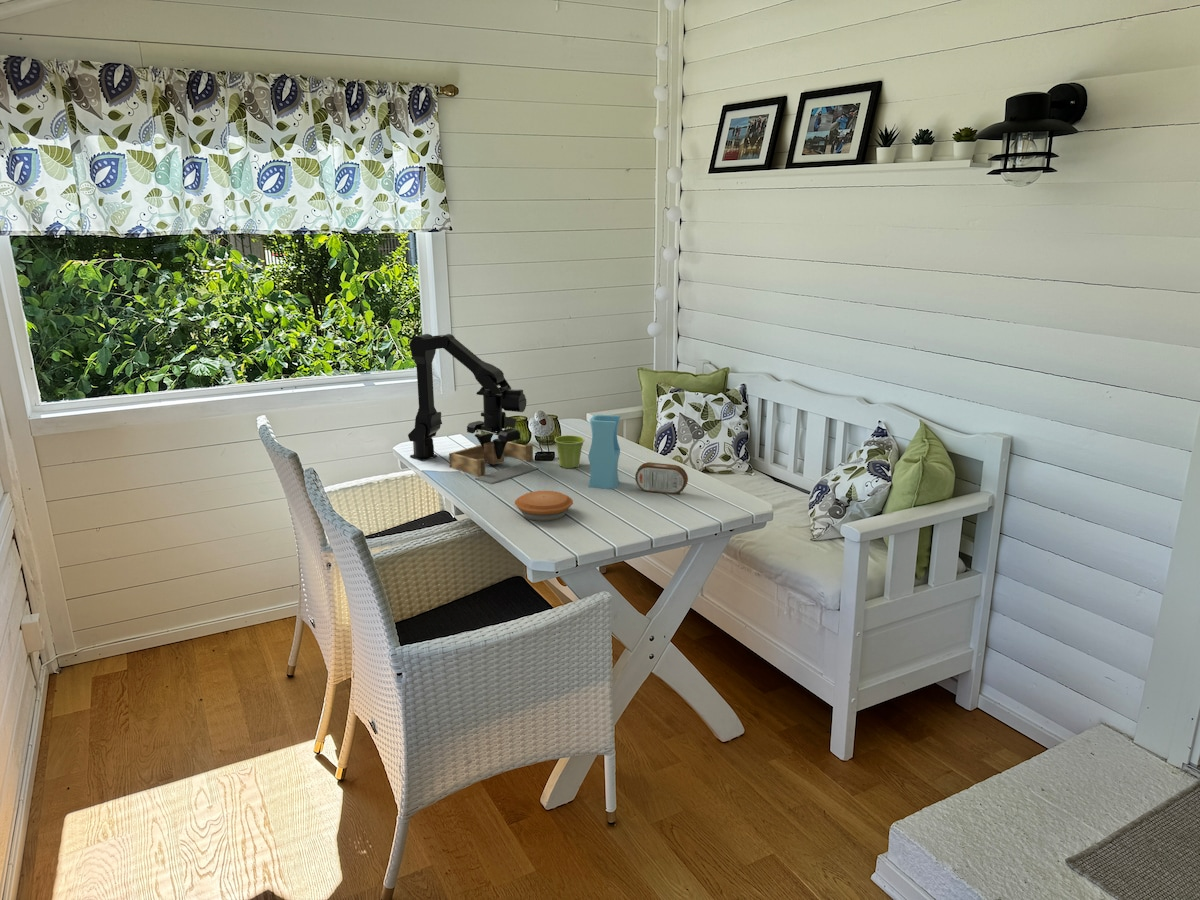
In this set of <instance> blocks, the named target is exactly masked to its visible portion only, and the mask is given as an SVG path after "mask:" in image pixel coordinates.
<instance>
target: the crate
mask: <svg viewBox="0 0 1200 900" xmlns="http://www.w3.org/2000/svg"><path fill="white" fill-rule="evenodd" d="M533 446H534V445H533V444H527V445H526V444H525V445H524V444H520V443H516V442H513V441H510V442H507V443H506V445H505V448H504V456H507V457H510V458H514V459H518V460H522V461H525V462H528V463H530V462H533V461H534V455H533V454H534V451H533V449H534V448H533ZM448 461H449V464H448V465H449V468H450V469H454V470H457V471H460V472H465V473H467V474H471V475H474V476H476V477H480V476H483V475H486V466H485V465H486V464H485V463H486V462H485V460H484V449H483V447H482V445H481V444H480V445H475V446H472V447H468V448H463V449H461V450H457V451H453V452H450V453H449V454H448Z"/></svg>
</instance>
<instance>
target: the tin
mask: <svg viewBox="0 0 1200 900" xmlns="http://www.w3.org/2000/svg"><path fill="white" fill-rule="evenodd" d="M634 478H635V482H636V485H637V487H639V489H641V490H642V491H644V492H648V493H655V494H656V493H658V494H666V495H667V494H668V495H677V494H679V493H682V492H683V490H685V488H686V487H687V485H688V483H689V482H688V481H689V476H688V474H687V472H686V471H685V469H684V468H683V467H682V466H680V465H676V464H669V463H659V462H651V461H650V462H648V461H647V462H645V463H643V464H641V465H640V466H638V468H637V470H636V471H635V477H634Z"/></svg>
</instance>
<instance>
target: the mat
mask: <svg viewBox="0 0 1200 900" xmlns="http://www.w3.org/2000/svg"><path fill="white" fill-rule="evenodd" d="M539 469H540V468H539V467H538V466H537V467H536V466H533V465H529V464H526V463H524V462H523V463H518V464H516V465H512V466H508V467H506V468H503V469H500V470H496V471H493V472H490V473H487V474H486V473H485V475H483V476H480V477H479V476H475V477H474V480H476V481H479V482H483V483H486V484H490V485H493V484H496V483H499V482H503V481H506V480H508V479H511V478H515V477H518V476H521V475H524V474H528V473H531V472H534V471H537V470H539Z"/></svg>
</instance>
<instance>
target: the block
mask: <svg viewBox="0 0 1200 900" xmlns="http://www.w3.org/2000/svg"><path fill="white" fill-rule="evenodd" d="M484 460H485V463H487V464H490V465H497V464H500V463H504V462H505V455H504V451H503V454H502V457H501V459H497V455H496V451H495V447H494V442H493V440H491V442H488V443H484Z"/></svg>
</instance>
